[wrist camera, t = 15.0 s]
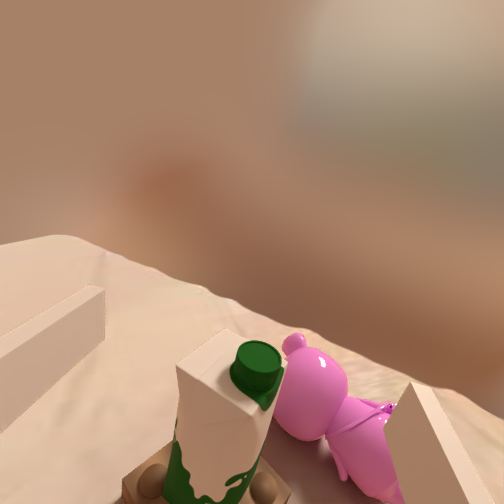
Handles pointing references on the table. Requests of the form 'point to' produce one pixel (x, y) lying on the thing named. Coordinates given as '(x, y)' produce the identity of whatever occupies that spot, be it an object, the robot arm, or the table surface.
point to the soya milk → (222, 418)
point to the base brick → (154, 474)
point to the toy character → (336, 419)
